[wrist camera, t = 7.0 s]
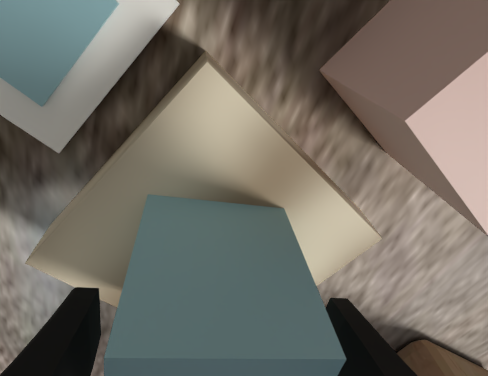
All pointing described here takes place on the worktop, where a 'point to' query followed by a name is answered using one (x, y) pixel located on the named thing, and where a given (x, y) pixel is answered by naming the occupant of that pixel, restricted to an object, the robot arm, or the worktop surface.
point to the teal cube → (219, 297)
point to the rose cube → (425, 94)
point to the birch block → (200, 185)
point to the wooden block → (437, 361)
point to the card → (68, 58)
